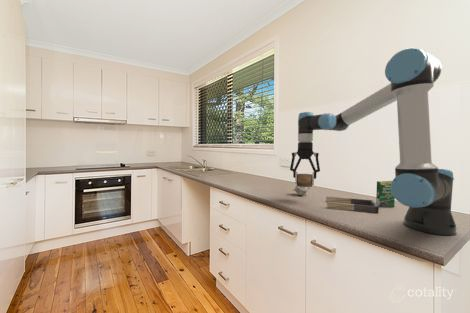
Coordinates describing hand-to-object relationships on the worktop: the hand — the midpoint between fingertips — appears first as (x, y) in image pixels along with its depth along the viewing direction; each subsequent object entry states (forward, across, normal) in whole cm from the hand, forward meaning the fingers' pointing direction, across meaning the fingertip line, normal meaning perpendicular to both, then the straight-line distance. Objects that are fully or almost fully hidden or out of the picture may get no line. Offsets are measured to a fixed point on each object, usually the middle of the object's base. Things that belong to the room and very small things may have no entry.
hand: (304, 184), depth 119 cm
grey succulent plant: (+10, +3, -16) cm, 19 cm away
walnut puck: (+1, 0, 0) cm, 1 cm away
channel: (+10, -22, 0) cm, 24 cm away
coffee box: (+11, -39, -8) cm, 41 cm away
